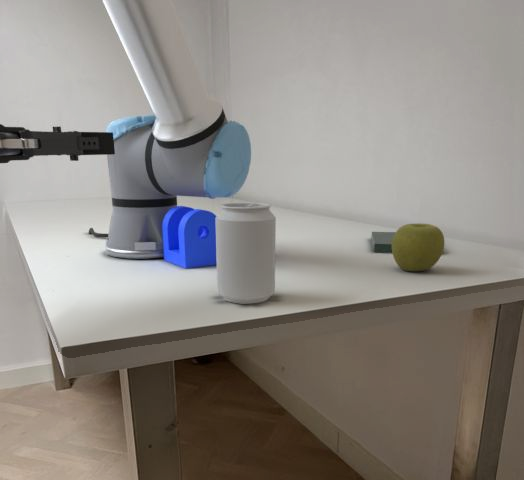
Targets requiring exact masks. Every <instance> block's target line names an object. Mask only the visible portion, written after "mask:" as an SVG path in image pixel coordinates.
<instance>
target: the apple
mask: <svg viewBox="0 0 524 480" xmlns="http://www.w3.org/2000/svg"><path fill="white" fill-rule="evenodd" d="M395 232H396V233H395V234H394V237H393V240H392V257H393V259H394V261H395V263H396V264H397V266H398V267H399V268H400V269H401V270H403V271H406V272H423V271H426V270H430V269H431V268H433V267H434V266H435V265H436V264H437V263H438V262H439V260H440V259H441V257H442V255H443V252H444V249H445V235H444V233H443V231H442V230H441V228H439V227H438V226H436V225H433V224H430V223H407V224H404V225H402V226H400V227H399V228H398V229H397V230H395Z"/></svg>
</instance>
